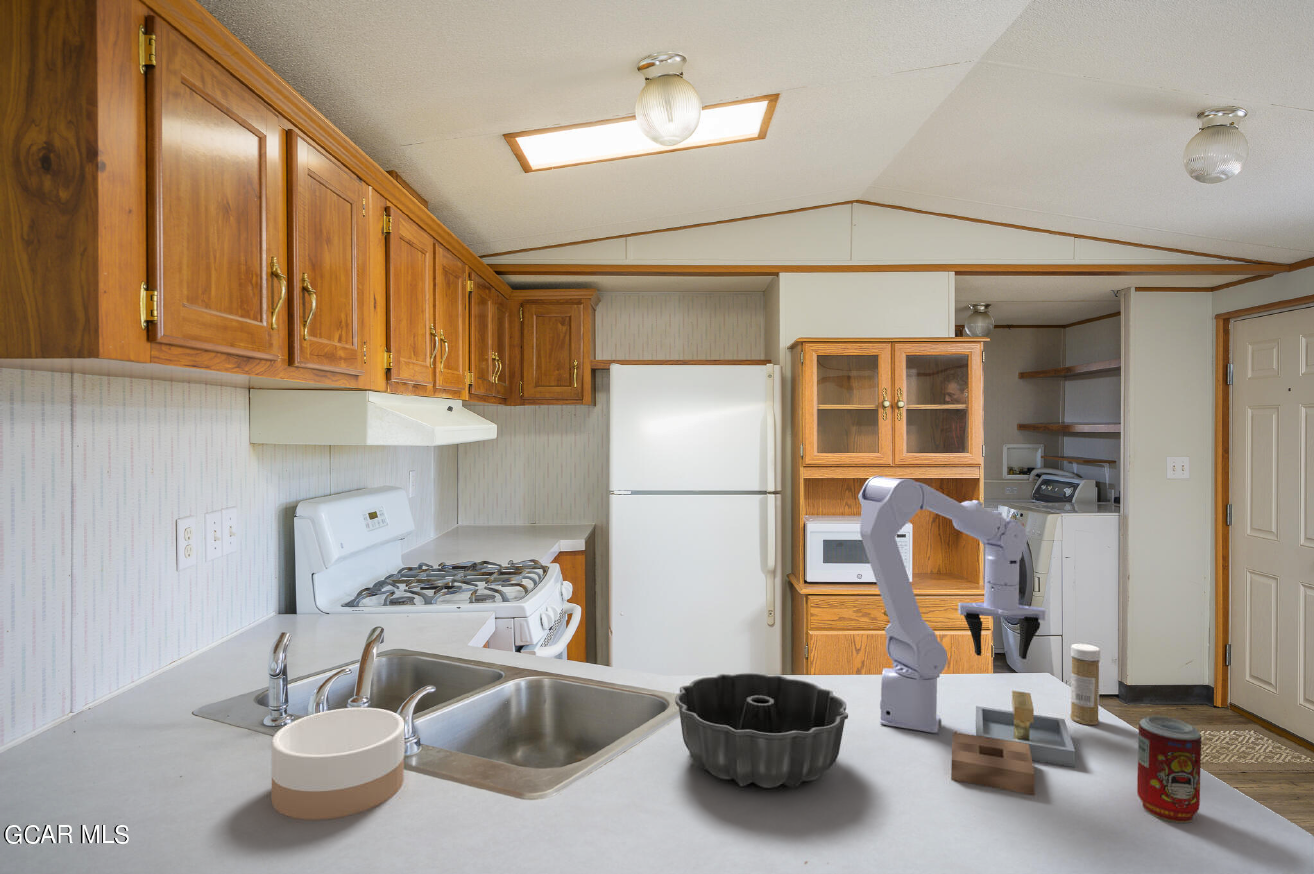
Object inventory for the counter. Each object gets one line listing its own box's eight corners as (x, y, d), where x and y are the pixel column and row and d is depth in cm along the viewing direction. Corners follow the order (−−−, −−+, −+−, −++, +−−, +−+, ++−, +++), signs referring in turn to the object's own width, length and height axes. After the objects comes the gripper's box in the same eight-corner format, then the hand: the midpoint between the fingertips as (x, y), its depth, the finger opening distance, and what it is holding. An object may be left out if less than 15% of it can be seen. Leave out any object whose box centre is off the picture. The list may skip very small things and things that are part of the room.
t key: (1011, 728, 127) (1012, 690, 127) (1029, 731, 126) (1030, 693, 126) (1013, 746, 120) (1014, 706, 120) (1032, 750, 119) (1033, 709, 119)
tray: (976, 750, 120) (976, 735, 120) (975, 719, 132) (975, 705, 132) (1074, 767, 114) (1075, 751, 114) (1064, 733, 127) (1064, 719, 127)
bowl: (428, 772, 110) (429, 716, 109) (344, 831, 93) (345, 765, 93) (335, 754, 115) (336, 700, 115) (241, 806, 99) (241, 744, 99)
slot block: (951, 779, 109) (951, 759, 109) (952, 750, 120) (953, 731, 120) (1034, 795, 105) (1034, 774, 105) (1028, 763, 115) (1028, 744, 115)
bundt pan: (746, 716, 133) (747, 660, 133) (879, 765, 114) (881, 701, 114) (639, 760, 114) (640, 696, 114) (777, 828, 96) (778, 751, 95)
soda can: (1159, 825, 97) (1161, 732, 97) (1125, 798, 104) (1127, 712, 104) (1212, 826, 97) (1215, 734, 97) (1175, 799, 104) (1177, 713, 104)
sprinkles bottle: (1103, 722, 132) (1105, 647, 132) (1090, 727, 130) (1092, 651, 129) (1077, 714, 136) (1079, 641, 136) (1064, 719, 133) (1066, 645, 133)
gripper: (963, 584, 134) (962, 659, 134) (1051, 589, 131) (1049, 665, 131) (956, 577, 141) (955, 647, 141) (1039, 581, 138) (1037, 654, 138)
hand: (1000, 655), depth 136 cm, fingers open, 7 cm apart
